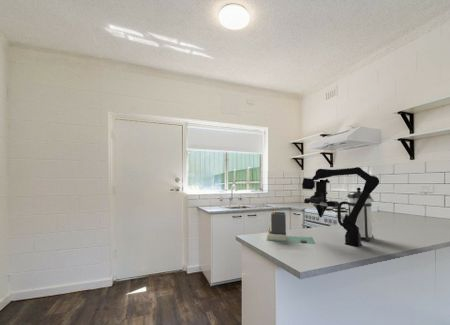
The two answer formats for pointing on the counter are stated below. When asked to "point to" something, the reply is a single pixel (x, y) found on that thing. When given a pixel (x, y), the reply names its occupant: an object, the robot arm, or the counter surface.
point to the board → (289, 238)
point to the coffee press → (364, 216)
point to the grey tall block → (278, 223)
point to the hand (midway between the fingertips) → (320, 217)
